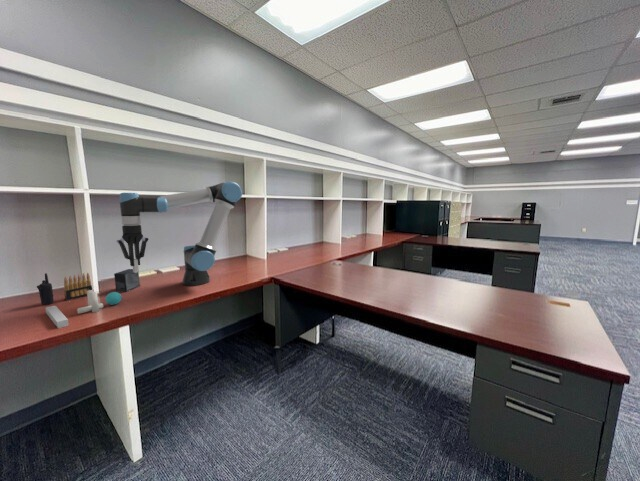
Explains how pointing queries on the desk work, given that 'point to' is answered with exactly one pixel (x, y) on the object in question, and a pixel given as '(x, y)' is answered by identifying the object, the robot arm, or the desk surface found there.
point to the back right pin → (89, 296)
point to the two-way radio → (46, 291)
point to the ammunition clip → (77, 287)
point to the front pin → (88, 308)
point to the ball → (113, 298)
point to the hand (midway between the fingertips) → (136, 272)
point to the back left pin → (94, 302)
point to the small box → (126, 280)
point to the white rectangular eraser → (57, 316)
